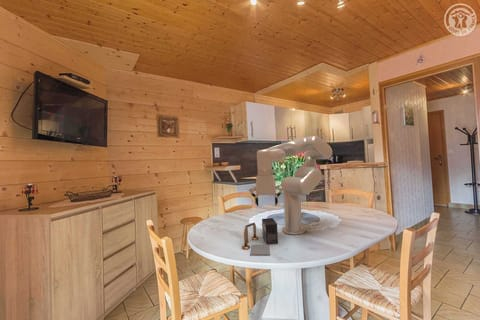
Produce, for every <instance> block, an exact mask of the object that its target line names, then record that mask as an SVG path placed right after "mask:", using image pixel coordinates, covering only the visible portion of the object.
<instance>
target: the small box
mask: <svg viewBox="0 0 480 320" xmlns="http://www.w3.org/2000/svg"><path fill="white" fill-rule="evenodd" d="M261 225H262V238H263V240H264V242H265V245H277V244H279V237H278V235H279V233H278V223H277V222H276V220H275V219H274V217H270V218H269V217H268V218H262V219H261Z"/></svg>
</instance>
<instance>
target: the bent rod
mask: <svg viewBox="0 0 480 320" xmlns="http://www.w3.org/2000/svg"><path fill="white" fill-rule="evenodd" d="M251 226H252V228H253V234H252V235H253V236H251V237H250V239H251V240H253V241H257V240H259V238H260V237H259V236H258V235H257V228H256V226H257V224H256V223H255V222H252V223H249V224H246V225H245V226H244V230H243V243H244V245H242V246H241V249H242V250H247V251H248V250H251V245H249V244H248V243H249V230H248V228H249V227H251Z"/></svg>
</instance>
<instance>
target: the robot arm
mask: <svg viewBox="0 0 480 320" xmlns="http://www.w3.org/2000/svg"><path fill="white" fill-rule="evenodd" d="M302 153H304V154H305V161H304V163H303V164H302V165H301V166H299V168H297V169H296V170H295V172H294V173H293V175H294V176H287V177H285V178H283V179H282V181H281V187H279V186H277V185H276V179H275V178H276V177H275V175H274V174H275V173H276V170H273V164H272V163H275V164H276V163H283V161H285V159H286V158H287V157H288V158H289V157H295V156H297V155H299V154H302ZM332 156H333V149H332V146H330V144H328V143H327V142H326V141H325V140H324V139H322V138H321V137H319V136H317V135H309V136H302V137H300V138H297V139H294V140H292V141H291V140H290V141H288V142H285V143H281V144H278V145H273V146H271V147H268V148H265V149H258V150H257V151H256V163H257V166H256V167H257V175H256V177H255V179H256V180H255V186H254V187H253V188H251V189H250V190H249V193H250V195H251V196H252V197H253V198H254V202H255V205H256V207H258V206H259V196H266V195H267V196H268V195H269V196H270V195H272V196H274V205H275V206H278V204H279V203H278V202H279V200H278V199H279V197H280V196H281V195H283V205H284V206H283V208H284V210H283V211H284V226H283V227H282V232H283V233H284V234H286V235H290V236H291V235H292V236H293V235H294V236H295V235H296V236H297V235H302V234H304V233H305V232H306V231H305V229H311V225H310V224H308V223H307V224H305V223H303V221H302V201H301V197H300V195H301V196H306V195H309V194H310V193H311V192H312V191H313V190H314V189H315V188H316V187H317V186H318V185H319V184H320V182H321V180H322V176H323V175H322V174H323V173H322V171H321V170H320V168H319V167H318V164H317V160H328V159H330V158H331V157H332ZM276 190H278V192H277V193H276ZM254 191H255V193H256V194H255V193H254ZM282 193H283V194H282Z"/></svg>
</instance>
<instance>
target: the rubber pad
mask: <svg viewBox="0 0 480 320" xmlns="http://www.w3.org/2000/svg"><path fill="white" fill-rule="evenodd" d="M249 256H251V257H252V256H254V257H255V256H258V257H259V256H262V257H264V256H265V257H267V256H269V257H270V256H271V247H270V244H268V245H267V244H251V245H250V253H249Z"/></svg>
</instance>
